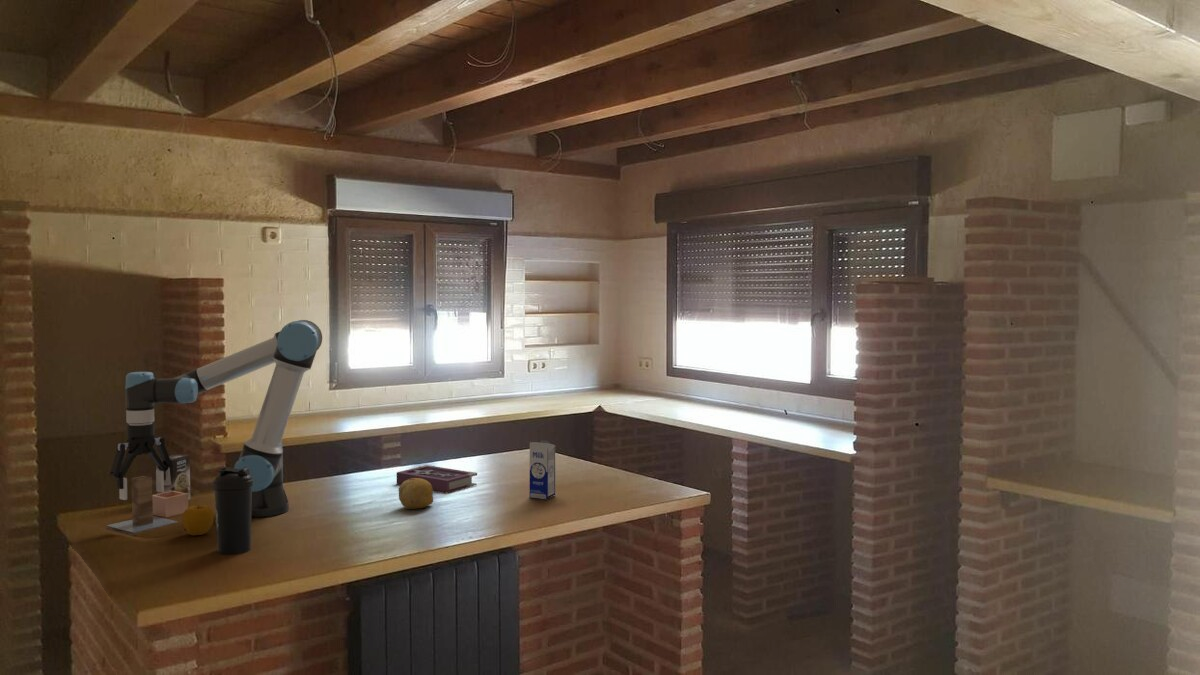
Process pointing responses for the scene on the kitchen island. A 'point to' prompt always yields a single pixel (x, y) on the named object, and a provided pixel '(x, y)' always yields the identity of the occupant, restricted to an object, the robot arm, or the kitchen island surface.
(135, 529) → the tile
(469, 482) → the book
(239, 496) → the water bottle
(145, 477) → the peg
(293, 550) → the kitchen island surface
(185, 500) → the box with hole
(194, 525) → the apple
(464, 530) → the kitchen island surface
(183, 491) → the coffee box
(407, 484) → the potato
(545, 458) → the milk carton
